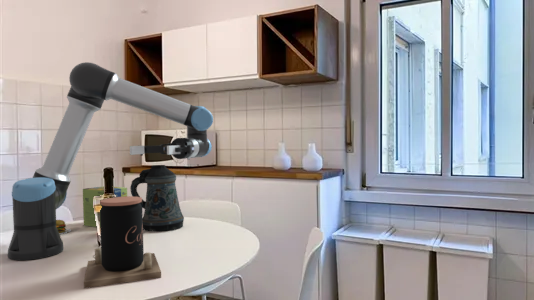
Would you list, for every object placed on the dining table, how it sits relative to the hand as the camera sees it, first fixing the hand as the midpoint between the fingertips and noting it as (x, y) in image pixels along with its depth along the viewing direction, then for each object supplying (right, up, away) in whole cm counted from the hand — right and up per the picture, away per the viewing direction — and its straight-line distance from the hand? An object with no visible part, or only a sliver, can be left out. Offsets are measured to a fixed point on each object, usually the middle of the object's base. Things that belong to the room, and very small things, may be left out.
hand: (149, 150), depth 123 cm
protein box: (-31, -31, +43) cm, 62 cm away
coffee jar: (-2, -31, -17) cm, 35 cm away
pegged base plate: (-2, -33, -17) cm, 37 cm away
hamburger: (-44, -33, +31) cm, 63 cm away
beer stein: (-6, -31, +35) cm, 48 cm away
